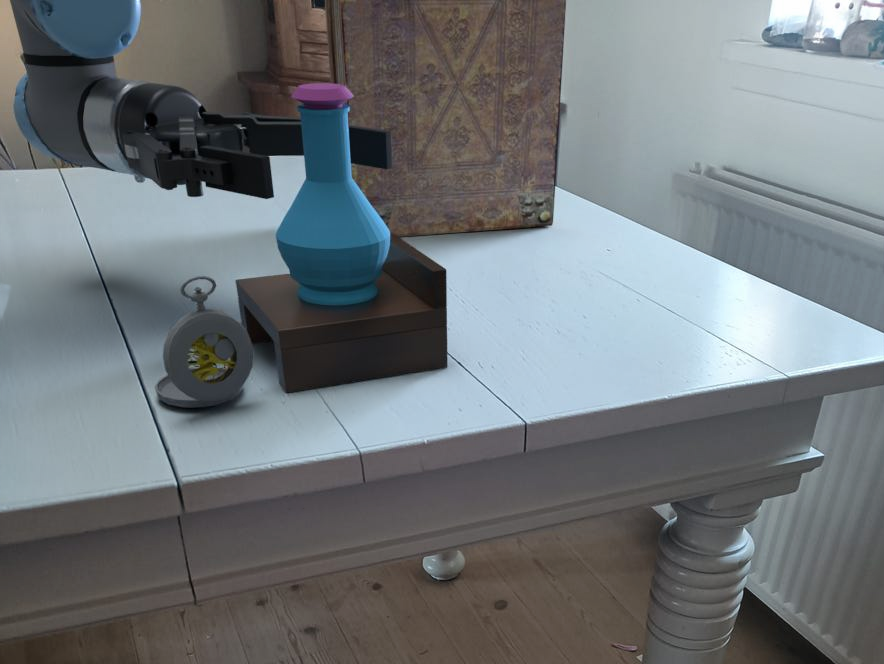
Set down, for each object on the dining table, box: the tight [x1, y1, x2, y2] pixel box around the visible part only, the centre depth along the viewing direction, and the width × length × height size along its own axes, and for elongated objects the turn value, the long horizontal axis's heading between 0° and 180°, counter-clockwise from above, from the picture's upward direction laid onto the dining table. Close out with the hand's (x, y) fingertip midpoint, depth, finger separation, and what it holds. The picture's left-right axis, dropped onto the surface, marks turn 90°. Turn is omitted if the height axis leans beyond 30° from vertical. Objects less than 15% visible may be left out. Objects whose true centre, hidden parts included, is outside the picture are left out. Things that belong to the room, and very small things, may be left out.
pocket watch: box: [154, 275, 254, 409], centre depth 69 cm, size 8×8×10 cm
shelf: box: [235, 232, 448, 394], centre depth 78 cm, size 14×14×8 cm
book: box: [324, 0, 567, 238], centre depth 107 cm, size 25×9×30 cm, turn 107°
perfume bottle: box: [275, 82, 390, 305], centre depth 73 cm, size 9×9×15 cm
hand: (332, 163), depth 71 cm, fingers open, 13 cm apart
